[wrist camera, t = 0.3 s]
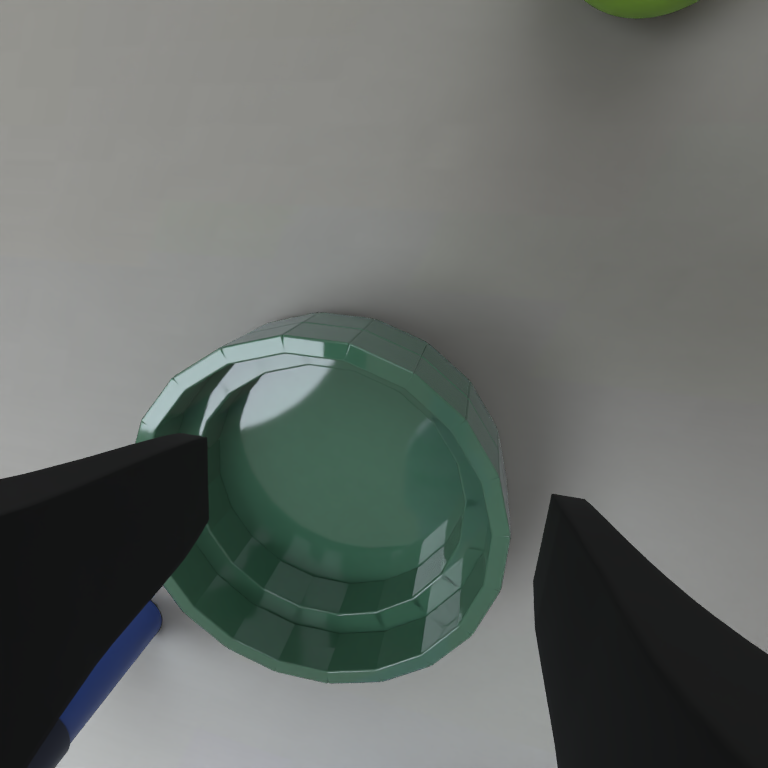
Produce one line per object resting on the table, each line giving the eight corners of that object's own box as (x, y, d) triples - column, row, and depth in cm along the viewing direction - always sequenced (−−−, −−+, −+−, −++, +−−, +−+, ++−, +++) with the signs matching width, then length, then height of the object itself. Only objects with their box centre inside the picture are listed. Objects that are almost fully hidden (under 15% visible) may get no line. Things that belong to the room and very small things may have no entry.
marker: (165, 641, 27) (38, 811, 19) (115, 630, 28) (-28, 792, 20) (163, 596, 26) (28, 756, 19) (111, 586, 27) (-41, 737, 19)
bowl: (479, 626, 23) (477, 718, 19) (199, 570, 25) (141, 642, 21) (530, 332, 19) (542, 367, 15) (188, 292, 21) (114, 313, 17)
